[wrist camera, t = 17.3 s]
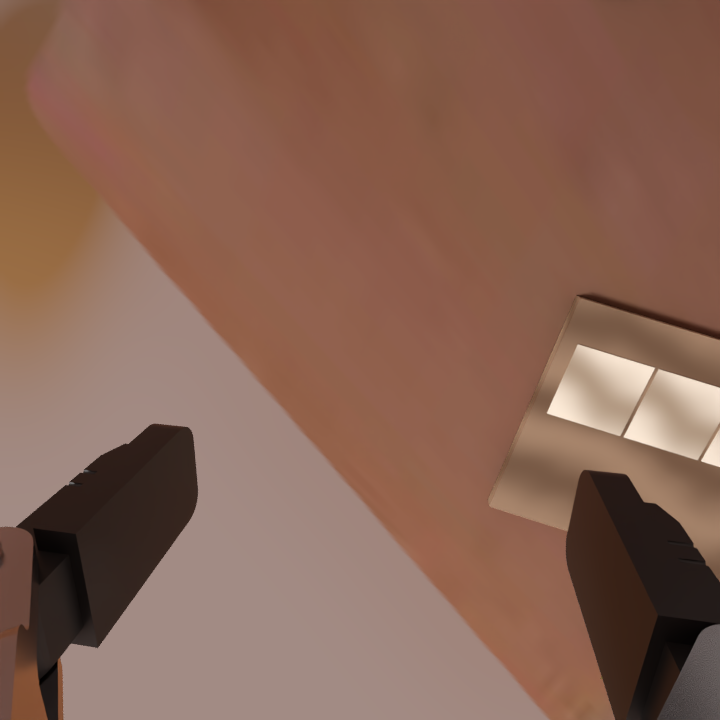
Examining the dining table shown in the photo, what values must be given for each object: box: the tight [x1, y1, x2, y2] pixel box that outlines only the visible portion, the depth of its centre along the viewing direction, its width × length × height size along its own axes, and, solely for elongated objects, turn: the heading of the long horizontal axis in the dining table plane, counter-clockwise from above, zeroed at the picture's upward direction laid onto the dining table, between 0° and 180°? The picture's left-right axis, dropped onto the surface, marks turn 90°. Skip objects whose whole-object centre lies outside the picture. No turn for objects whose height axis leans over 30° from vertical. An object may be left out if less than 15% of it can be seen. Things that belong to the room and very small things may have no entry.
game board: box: [488, 295, 720, 579], centre depth 39 cm, size 18×26×1 cm
